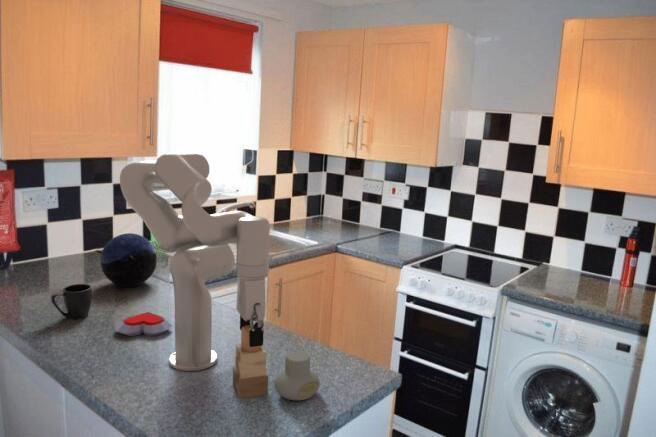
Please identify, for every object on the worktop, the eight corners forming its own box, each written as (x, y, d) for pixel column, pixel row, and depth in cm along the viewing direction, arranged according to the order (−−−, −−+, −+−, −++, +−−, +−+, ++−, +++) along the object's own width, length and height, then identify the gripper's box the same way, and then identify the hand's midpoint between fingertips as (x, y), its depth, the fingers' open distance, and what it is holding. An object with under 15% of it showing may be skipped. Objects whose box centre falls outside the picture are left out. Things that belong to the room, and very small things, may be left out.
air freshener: (302, 381, 136) (304, 344, 134) (324, 394, 130) (326, 356, 128) (268, 394, 128) (269, 356, 126) (289, 409, 122) (291, 369, 120)
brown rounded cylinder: (239, 345, 129) (239, 325, 129) (258, 343, 131) (259, 323, 130) (243, 353, 125) (243, 333, 124) (263, 351, 127) (263, 331, 126)
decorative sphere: (130, 274, 215) (129, 226, 211) (168, 283, 206) (167, 233, 203) (89, 287, 197) (87, 235, 193) (129, 297, 189) (127, 243, 185)
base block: (232, 385, 132) (233, 366, 131) (260, 381, 135) (260, 362, 134) (239, 399, 126) (239, 379, 125) (267, 394, 128) (268, 375, 127)
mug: (47, 318, 167) (45, 289, 165) (86, 309, 176) (84, 282, 174) (57, 326, 162) (56, 296, 160) (97, 316, 170) (96, 288, 169)
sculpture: (121, 320, 169) (110, 339, 154) (121, 309, 168) (109, 327, 154) (176, 319, 172) (170, 338, 157) (176, 308, 171) (169, 327, 156)
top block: (235, 367, 131) (235, 344, 130) (259, 364, 133) (259, 341, 132) (240, 378, 125) (241, 355, 124) (265, 375, 128) (266, 352, 126)
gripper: (229, 260, 131) (228, 325, 134) (245, 281, 115) (243, 354, 118) (258, 258, 134) (257, 322, 137) (278, 279, 118) (276, 350, 121)
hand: (251, 337), depth 128 cm, fingers open, 9 cm apart
